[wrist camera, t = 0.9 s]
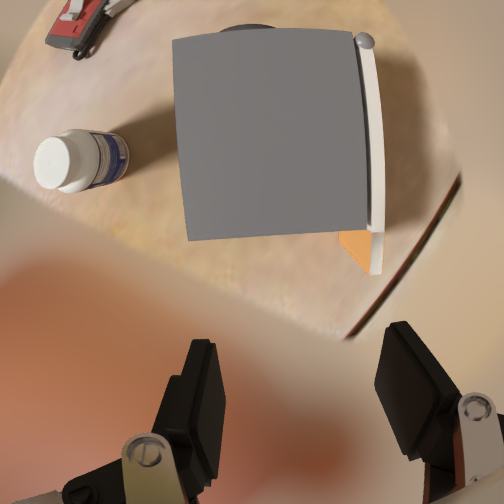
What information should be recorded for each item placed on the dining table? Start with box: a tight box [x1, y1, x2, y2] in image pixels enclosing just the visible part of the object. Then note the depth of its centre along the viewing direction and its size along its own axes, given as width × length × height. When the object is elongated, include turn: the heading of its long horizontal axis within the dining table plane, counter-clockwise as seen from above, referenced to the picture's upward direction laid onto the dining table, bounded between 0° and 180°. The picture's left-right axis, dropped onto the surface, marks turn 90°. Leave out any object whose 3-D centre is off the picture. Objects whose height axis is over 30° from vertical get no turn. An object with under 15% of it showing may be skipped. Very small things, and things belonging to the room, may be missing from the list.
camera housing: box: [172, 24, 367, 241], centre depth 21 cm, size 16×12×9 cm
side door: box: [339, 32, 385, 275], centre depth 21 cm, size 18×1×9 cm, turn 4°
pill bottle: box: [34, 129, 129, 193], centre depth 21 cm, size 5×5×10 cm
